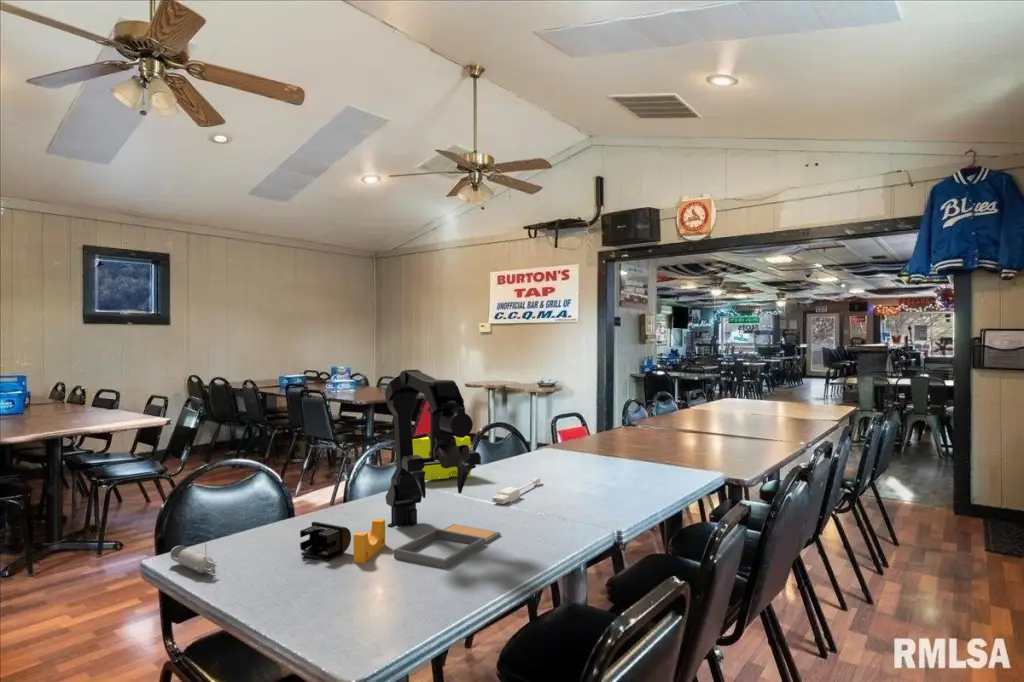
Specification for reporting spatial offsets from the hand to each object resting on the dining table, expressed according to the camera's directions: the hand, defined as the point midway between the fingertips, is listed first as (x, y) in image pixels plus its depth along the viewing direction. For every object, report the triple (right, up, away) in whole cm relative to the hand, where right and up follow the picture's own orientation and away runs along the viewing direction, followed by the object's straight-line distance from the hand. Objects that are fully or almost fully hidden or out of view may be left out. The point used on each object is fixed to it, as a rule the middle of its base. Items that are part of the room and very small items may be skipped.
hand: (442, 495), depth 140 cm
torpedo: (-55, -14, -11) cm, 57 cm away
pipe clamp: (-18, -14, -3) cm, 22 cm away
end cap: (-28, -13, -3) cm, 31 cm away
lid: (+6, -13, +9) cm, 17 cm away
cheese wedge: (-8, -13, +76) cm, 78 cm away
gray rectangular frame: (0, -13, -2) cm, 13 cm away
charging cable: (+20, -13, +51) cm, 56 cm away
